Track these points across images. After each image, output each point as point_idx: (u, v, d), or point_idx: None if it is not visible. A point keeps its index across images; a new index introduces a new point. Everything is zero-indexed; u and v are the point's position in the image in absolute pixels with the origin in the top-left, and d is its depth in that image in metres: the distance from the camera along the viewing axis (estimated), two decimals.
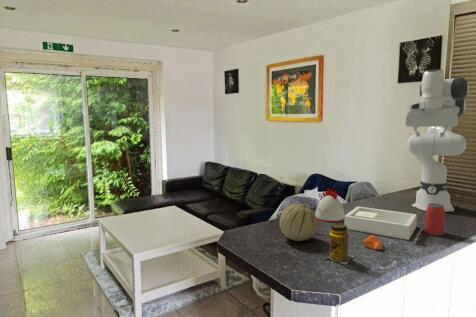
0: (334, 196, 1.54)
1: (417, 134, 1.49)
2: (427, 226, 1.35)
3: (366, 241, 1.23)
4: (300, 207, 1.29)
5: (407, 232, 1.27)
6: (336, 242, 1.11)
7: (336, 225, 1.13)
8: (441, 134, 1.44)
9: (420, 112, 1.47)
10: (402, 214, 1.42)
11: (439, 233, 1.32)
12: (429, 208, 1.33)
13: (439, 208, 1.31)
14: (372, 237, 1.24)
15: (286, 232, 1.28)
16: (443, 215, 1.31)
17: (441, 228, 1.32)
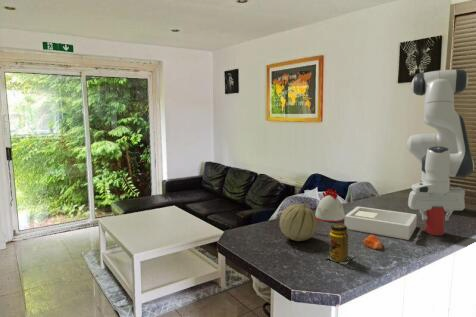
0: (334, 196, 1.54)
1: (425, 218, 1.34)
2: (427, 226, 1.35)
3: (366, 240, 1.24)
4: (300, 207, 1.29)
5: (407, 232, 1.27)
6: (336, 242, 1.11)
7: (336, 225, 1.13)
8: (446, 218, 1.33)
9: (427, 195, 1.32)
10: (402, 214, 1.42)
11: (439, 233, 1.32)
12: None
13: (439, 208, 1.31)
14: (372, 236, 1.25)
15: (286, 232, 1.28)
16: (443, 215, 1.31)
17: (441, 228, 1.32)
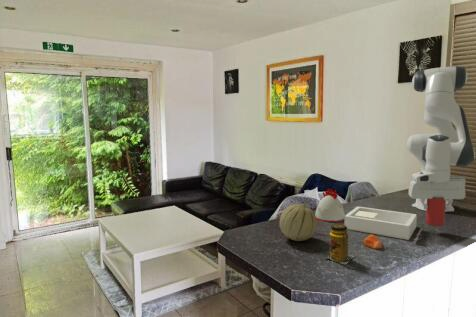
0: (334, 196, 1.54)
1: (425, 207, 1.34)
2: (427, 217, 1.34)
3: (366, 240, 1.24)
4: (300, 207, 1.29)
5: (407, 232, 1.27)
6: (336, 242, 1.11)
7: (336, 225, 1.13)
8: (446, 207, 1.33)
9: (428, 184, 1.31)
10: (402, 214, 1.42)
11: (439, 224, 1.32)
12: (429, 199, 1.33)
13: (439, 199, 1.31)
14: (372, 236, 1.25)
15: (286, 232, 1.28)
16: (443, 206, 1.31)
17: (441, 219, 1.32)
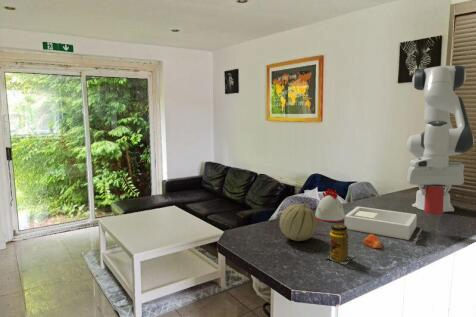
0: (334, 196, 1.54)
1: (423, 193, 1.33)
2: (426, 206, 1.34)
3: (366, 240, 1.25)
4: (300, 207, 1.29)
5: (407, 232, 1.27)
6: (336, 242, 1.11)
7: (336, 225, 1.13)
8: (445, 193, 1.32)
9: (426, 170, 1.31)
10: (402, 214, 1.42)
11: (438, 212, 1.31)
12: (428, 187, 1.33)
13: (438, 187, 1.30)
14: (372, 236, 1.26)
15: (286, 232, 1.28)
16: (442, 194, 1.31)
17: (440, 207, 1.31)
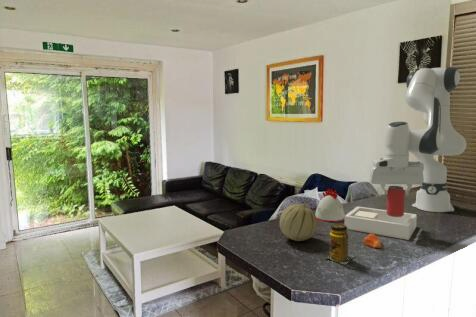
0: (334, 196, 1.54)
1: (385, 192, 1.36)
2: (387, 208, 1.37)
3: (366, 239, 1.25)
4: (300, 207, 1.29)
5: (407, 232, 1.27)
6: (336, 242, 1.11)
7: (336, 225, 1.13)
8: (406, 192, 1.35)
9: (387, 170, 1.33)
10: None
11: (398, 214, 1.34)
12: (389, 190, 1.35)
13: (398, 189, 1.33)
14: (372, 235, 1.26)
15: (286, 232, 1.28)
16: (402, 196, 1.33)
17: (400, 209, 1.34)
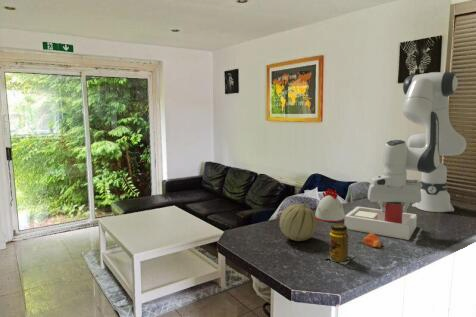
0: (334, 196, 1.54)
1: (383, 210, 1.37)
2: None
3: (365, 239, 1.25)
4: (300, 207, 1.29)
5: (407, 232, 1.27)
6: (336, 242, 1.11)
7: (336, 225, 1.13)
8: (403, 210, 1.36)
9: (385, 188, 1.34)
10: (402, 214, 1.42)
11: None
12: (387, 205, 1.36)
13: (396, 205, 1.34)
14: (371, 235, 1.26)
15: (286, 232, 1.28)
16: (400, 212, 1.34)
17: None
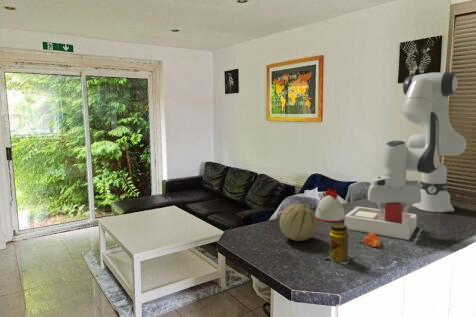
0: (334, 196, 1.54)
1: (381, 210, 1.37)
2: None
3: (365, 239, 1.26)
4: (300, 207, 1.29)
5: (407, 232, 1.27)
6: (336, 242, 1.11)
7: (336, 225, 1.13)
8: (405, 211, 1.36)
9: (385, 188, 1.34)
10: (402, 214, 1.42)
11: None
12: (387, 205, 1.36)
13: (396, 205, 1.34)
14: (371, 235, 1.27)
15: (286, 232, 1.28)
16: (400, 212, 1.34)
17: None
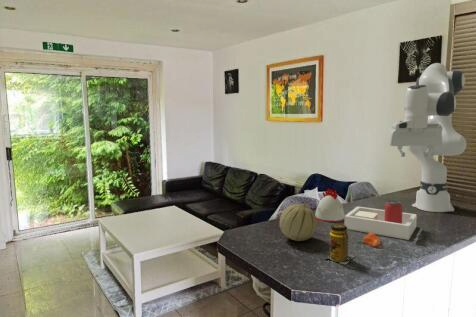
0: (334, 196, 1.54)
1: (402, 154, 1.40)
2: None
3: (365, 238, 1.26)
4: (300, 207, 1.29)
5: (407, 232, 1.27)
6: (336, 242, 1.11)
7: (336, 225, 1.13)
8: (426, 154, 1.38)
9: (407, 131, 1.37)
10: (402, 214, 1.42)
11: None
12: (387, 205, 1.36)
13: (396, 205, 1.34)
14: (371, 234, 1.27)
15: (286, 232, 1.28)
16: (400, 212, 1.34)
17: None
